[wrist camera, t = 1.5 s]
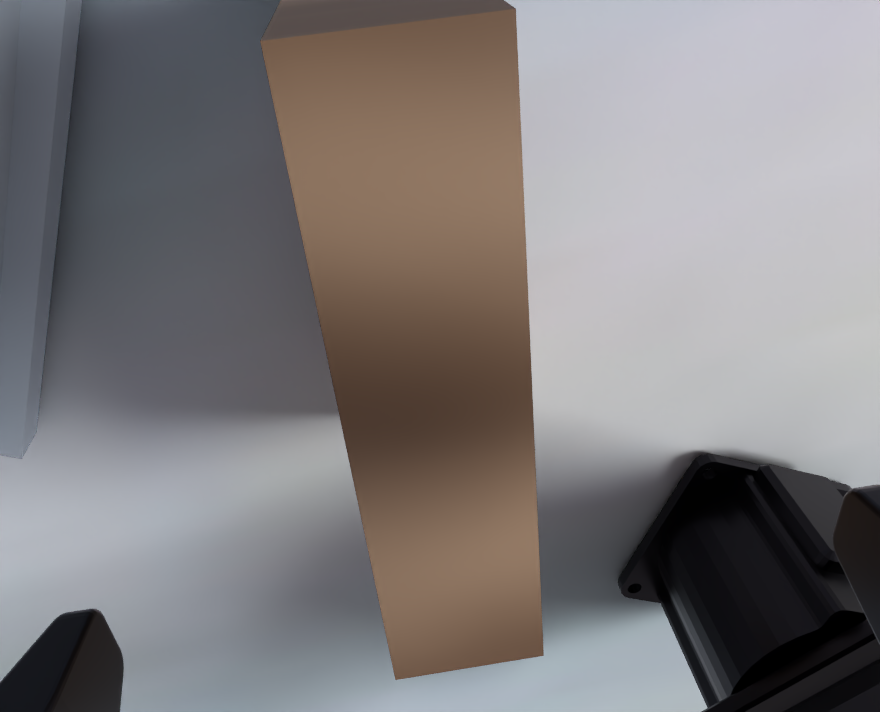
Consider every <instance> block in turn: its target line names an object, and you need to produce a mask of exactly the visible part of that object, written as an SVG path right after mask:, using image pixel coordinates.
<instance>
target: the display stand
mask: <svg viewBox="0 0 880 712" xmlns="http://www.w3.org/2000/svg"><path fill="white" fill-rule="evenodd" d="M81 7H82V0H0V455H2V456H8V457H14V458H20V459H22V457H23V456H24V454H25V452H26V450H27V448H28V446H29V445H30V443H31V441H32V439H33V437H34V436H35V434H36V432H37V423H38V413H39V404H40V394H41V385H42V375H43V366H44V357H45V347H46V338H47V328H48V319H49V309H50V300H51V291H52V281H53V272H54V262H55V253H56V243H57V234H58V224H59V215H60V206H61V196H62V187H63V177H64V168H65V158H66V149H67V140H68V130H69V121H70V111H71V102H72V92H73V83H74V73H75V64H76V55H77V45H78V36H79V26H80V17H81Z"/></svg>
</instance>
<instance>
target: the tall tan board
mask: <svg viewBox="0 0 880 712" xmlns="http://www.w3.org/2000/svg"><path fill="white" fill-rule="evenodd" d="M260 42H261V47H262V52H263V57H264V61H265V66H266V71H267V75H268V80H269V85H270V90H271V94H272V99H273V104H274V108H275V113H276V118H277V123H278V127H279V132H280V137H281V141H282V146H283V151H284V156H285V160H286V165H287V170H288V175H289V179H290V184H291V189H292V193H293V198H294V203H295V208H296V212H297V217H298V222H299V226H300V231H301V236H302V241H303V245H304V250H305V255H306V259H307V264H308V269H309V274H310V278H311V283H312V288H313V293H314V297H315V302H316V307H317V311H318V316H319V321H320V326H321V330H322V335H323V340H324V344H325V349H326V354H327V359H328V363H329V368H330V373H331V377H332V382H333V387H334V392H335V396H336V401H337V406H338V411H339V415H340V420H341V425H342V429H343V434H344V439H345V444H346V448H347V453H348V458H349V462H350V467H351V472H352V477H353V481H354V486H355V491H356V495H357V500H358V505H359V510H360V514H361V519H362V524H363V529H364V533H365V538H366V543H367V547H368V552H369V557H370V562H371V566H372V571H373V576H374V580H375V585H376V590H377V595H378V599H379V604H380V609H381V613H382V618H383V623H384V628H385V632H386V637H387V642H388V646H389V651H390V656H391V661H392V665H393V670H394V675H395V680H398V679H404V678H410V677H416V676H422V675H428V674H434V673H440V672H446V671H453V670H459V669H465V668H471V667H477V666H483V665H489V664H495V663H501V662H507V661H513V660H520V659H526V658H532V657H538V656H544V655H543V631H542V608H541V585H540V562H539V539H538V515H537V492H536V469H535V446H534V423H533V399H532V376H531V353H530V330H529V307H528V283H527V260H526V237H525V214H524V191H523V167H522V144H521V121H520V98H519V75H518V51H517V28H516V9H515V8H514V7H512V6H511V5H510V4H508V3H507V2H505V1H504V0H281V1H280V3H279V5H278V7H277V9H276V11H275V13H274V15H273V17H272V19H271V21H270V23H269V25H268V27H267V29H266V31H265V32H264V34H263V36H262V38H261V40H260Z"/></svg>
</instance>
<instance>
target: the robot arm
mask: <svg viewBox="0 0 880 712" xmlns="http://www.w3.org/2000/svg"><path fill="white" fill-rule="evenodd" d="M708 468H710V469H709V470H707V471H705V470H706V469H708ZM704 471H705V472H704ZM618 586H619V588H620V591H621V593H622V594H623V595H624V596H625V597H628V598H633V599H639V600H645V601H652V602H658V603H661V605H662V607H663V609H664V612H665V614H666V616H667V618H668V620H669V623H670V625H671V627H672V629H673V632H674V634H675V636H676V638H677V641H678V643H679V645H680V647H681V649H682V652H683V654H684V656H685V658H686V661H687V663H688V665H689V667H690V669H691V672H692V674H693V676H694V678H695V681H696V683H697V685H698V687H699V690H700V692H701V694H702V696H703V698H704V701H705V703H706V705H707V707H708V708H707V709H706V710H704V711H702V712H880V485H871V486H865V487H858V488H853V489H852V488H851V487H850V486H848V485H846V484H841V483H837V482H833V481H830V480H829V479H828V478H826V477H823V476H818V475H814V474H810V473H805V472H801V471H796V470H792V469H788V468H783V467H779V466H774V465H770V464H769V465H758V464H753V463H749V462H744V461H740V460H736V459H731V458H727V457H722V456H718V455H714V454H705V455H701V456H699V457H698V458H696V459H695V460H694V461H693V462H692V464H691V465H690V467H689V468H688V470H687V471H686V473H685V475H684V476H683V478H682V479H681V481H680V482H679V484H678V486H677V487H676V489H675V490H674V492H673V494H672V495H671V497H670V498H669V500H668V501H667V503H666V505H665V506H664V508H663V509H662V511H661V512H660V514H659V516H658V517H657V519H656V520H655V522H654V523H653V525H652V527H651V528H650V530H649V531H648V533H647V534H646V536H645V538H644V539H643V541H642V542H641V544H640V546H639V547H638V549H637V550H636V552H635V553H634V555H633V557H632V558H631V560H630V561H629V563H628V564H627V566H626V568H625V569H624V571H623V572H622V574H621V575H620V577H619V579H618ZM123 672H124V665H123V656H122V653H121V650H120V648H119V646H118V644H117V642H116V640H115V638H114V636H113V634H112V632H111V630H110V628H109V626H108V624H107V622H106V620H105V618H104V616H103V614H102V613H101V612H100V611H99V610H97V609H87V610H80V611H74V612H68V613H64V614H62V615H60V616H59V617H57V618H56V619H55V620H54V621H53V622H52V623H51V624H50V626H49V627H48V628H47V629H46V630H45V631H44V632H43V634H42V635H41V636H40V637H39V638H38V639H37V640H36V642H35V643H34V644H33V645H32V646H31V647H30V649H29V650H28V651H27V652H26V653H25V654H24V655H23V657H22V658H21V659H20V660H19V661H18V662H17V664H16V665H15V666H14V667H13V668H12V669H11V670H10V672H9V673H8V674H7V675H6V676H5V677H4V678H3V680H2V681H1V682H0V712H120V705H121V694H122V683H123Z"/></svg>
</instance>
